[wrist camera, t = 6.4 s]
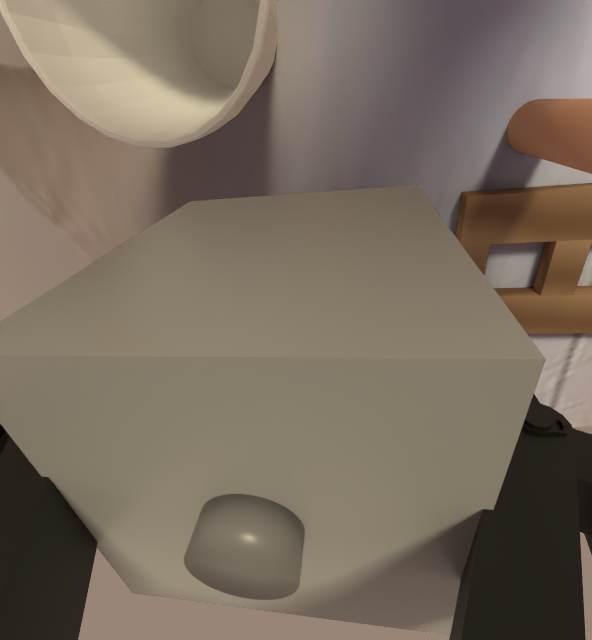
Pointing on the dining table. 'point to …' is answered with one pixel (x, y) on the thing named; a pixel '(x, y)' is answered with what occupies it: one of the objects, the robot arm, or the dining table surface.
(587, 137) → the peg
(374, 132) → the dining table surface
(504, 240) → the board
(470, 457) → the block
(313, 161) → the dining table surface
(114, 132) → the cup
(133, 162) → the dining table surface
